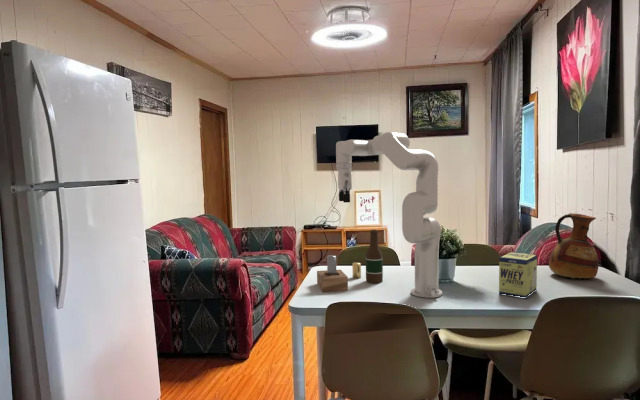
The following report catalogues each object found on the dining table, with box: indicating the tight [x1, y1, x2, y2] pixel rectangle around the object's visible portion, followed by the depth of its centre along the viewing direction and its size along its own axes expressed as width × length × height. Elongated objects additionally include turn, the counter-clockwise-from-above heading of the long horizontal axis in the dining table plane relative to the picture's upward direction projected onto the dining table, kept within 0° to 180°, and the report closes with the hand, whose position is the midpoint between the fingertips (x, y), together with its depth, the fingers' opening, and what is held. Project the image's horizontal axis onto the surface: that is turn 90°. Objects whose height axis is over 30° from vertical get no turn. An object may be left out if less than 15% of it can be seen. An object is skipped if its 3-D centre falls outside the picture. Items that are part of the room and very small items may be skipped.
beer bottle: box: [365, 229, 384, 284], centre depth 197 cm, size 8×8×24 cm
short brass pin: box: [351, 262, 362, 280], centre depth 206 cm, size 4×4×7 cm
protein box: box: [498, 251, 538, 297], centre depth 176 cm, size 10×16×16 cm
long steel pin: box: [326, 254, 337, 276], centre depth 189 cm, size 4×4×14 cm
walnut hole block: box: [316, 269, 349, 293], centre depth 189 cm, size 14×11×6 cm
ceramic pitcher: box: [548, 212, 599, 279], centre depth 200 cm, size 20×20×30 cm
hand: (344, 201), depth 210 cm, fingers open, 9 cm apart
